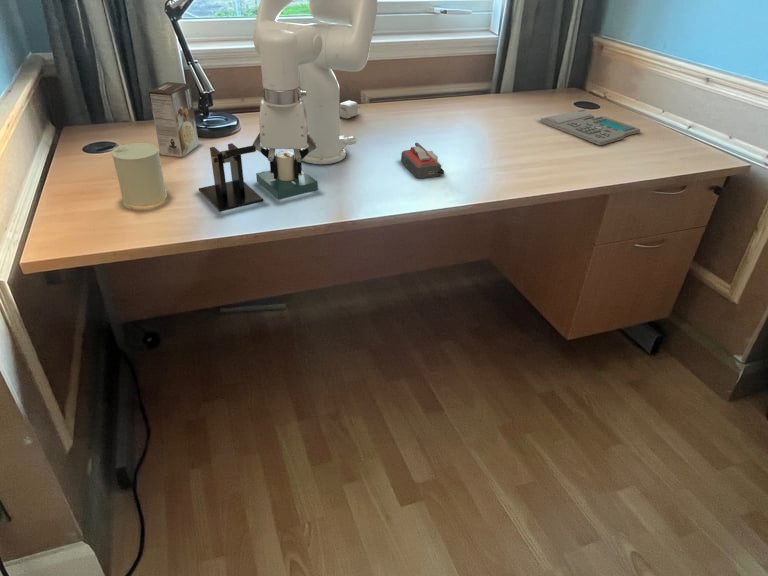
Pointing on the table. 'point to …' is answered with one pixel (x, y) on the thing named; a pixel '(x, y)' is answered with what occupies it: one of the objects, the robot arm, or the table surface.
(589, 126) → the office telephone
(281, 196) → the dial panel
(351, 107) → the usb wall charger
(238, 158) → the pivoting lever stand
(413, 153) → the walkie-talkie
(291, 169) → the dial
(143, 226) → the table surface
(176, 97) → the coffee box
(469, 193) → the table surface
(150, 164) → the can
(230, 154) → the lever
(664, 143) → the table surface
